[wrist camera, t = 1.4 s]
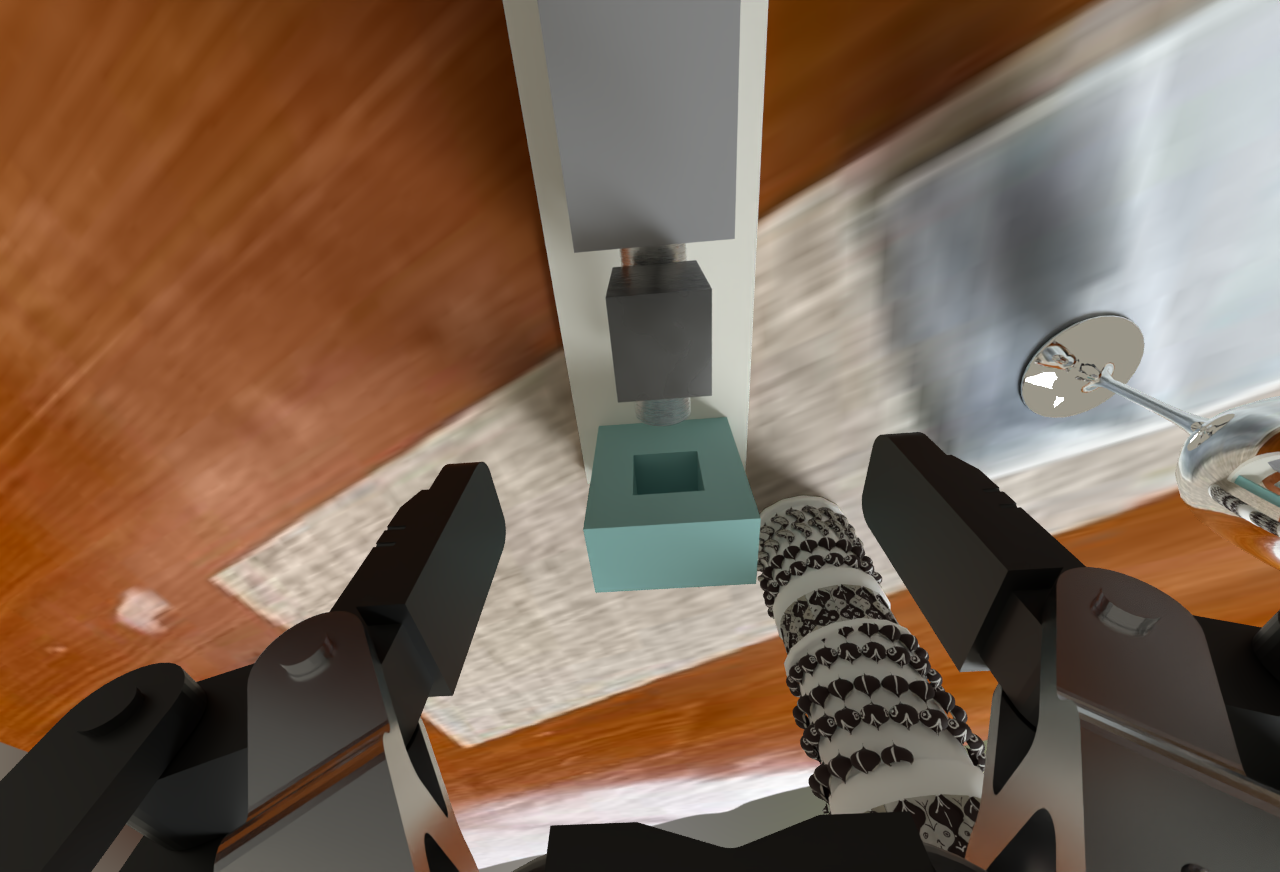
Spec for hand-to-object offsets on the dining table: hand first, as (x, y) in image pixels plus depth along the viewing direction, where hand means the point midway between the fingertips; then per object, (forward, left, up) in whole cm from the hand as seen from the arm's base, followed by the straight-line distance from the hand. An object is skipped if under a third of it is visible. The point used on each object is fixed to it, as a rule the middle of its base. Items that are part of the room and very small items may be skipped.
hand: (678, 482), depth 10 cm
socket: (+12, 0, -20) cm, 24 cm away
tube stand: (-1, 0, -22) cm, 22 cm away
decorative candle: (+23, +11, -22) cm, 34 cm away
